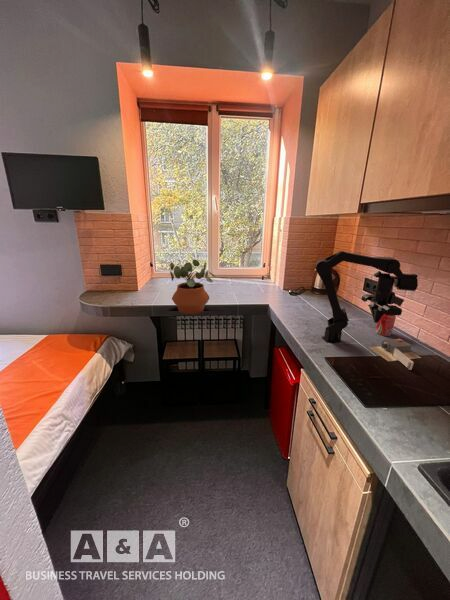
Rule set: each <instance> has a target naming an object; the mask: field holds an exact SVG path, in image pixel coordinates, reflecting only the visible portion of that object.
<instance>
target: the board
mask: <svg viewBox="0 0 450 600" xmlns="http://www.w3.org/2000/svg"><path fill="white" fill-rule="evenodd" d="M368 349H370V350H371V351H373V352H374V353H376V354H377V355H378V356H380V357H381V358H383V359H384V360H386V361H387V362H395V361H399V360H398V359H397V358H396V357H394V356H392V354H391V353H390V352H388V351H387V350H385V349H383V348H382V347H381V345H380V346H370V347H368ZM403 354H404V355H405V356H407V357H408V358H409V359H410V360H415V359H422V357H421V356H419V355H418V354H416V353H415V352H412V351H411V350H410V352H408V353H403Z"/></svg>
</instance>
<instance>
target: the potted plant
mask: <svg viewBox="0 0 450 600" xmlns="http://www.w3.org/2000/svg"><path fill="white" fill-rule="evenodd" d="M175 264H176V265H175ZM200 265H201V263H200V262H199V260H198V259H193V260H192V263H191V262H185V263H184V265H183V266H181V265H177V263H175V262H170V264H169V267H170V270H171V271H169V273H170V274H169V275H170V276H171V277H170V279H171V281H172V282H173V281H174V280H175V279H181V278H183V279H184V281H186V282H181V283H179V284H177V286H176V287H177V288H176V291H175V292H174V293H173V295H172V297H171V300H172V302H173V303H174V304H175V306H177V310H178V312H179V313H181V314H185V315H196V314H200V313H202V312H204V310H205V306H206V304H208V303H209V302H208V301H209V300H210V296H209V294H208V292H207V291H206V289H205V288H204V287H205V283H206V282H209V283H213V282H214V281H213V280H212V278H210V277H209V275H210V276H213V277H217V275H215V274H213V273H212V272H210V271H209V269H207V262H206V261H204V263H203V268H202V269H200V271H199V272H198V271H196V270H195V269H196V268H197V267H199V266H200ZM193 267H194V268H193ZM206 269H207V270H206ZM193 274H194V275H193ZM174 278H175V279H174ZM195 278H196V279H198V280H200V281H199V282H196V281H195ZM202 278H203V279H202ZM204 279H206V282H204V283H201V282H202V281H203V280H204Z"/></svg>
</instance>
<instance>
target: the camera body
mask: <svg viewBox="0 0 450 600" xmlns="http://www.w3.org/2000/svg"><path fill="white" fill-rule="evenodd" d="M380 346H381V347H382V348H383V349H385V350H387V351H388V352H390V353H391V354H393V350H394V348H397V349H398V350H399V351H400V352H402V353H408V352H410V351H411V350H412V346H413V345H412V344H411V343H409V342H406V341H405V340H403V339H401V338H396V339H395V338H393V339H392V338H391V339H383V340H382V342H381V345H380Z"/></svg>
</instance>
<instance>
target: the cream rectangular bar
mask: <svg viewBox="0 0 450 600" xmlns="http://www.w3.org/2000/svg"><path fill="white" fill-rule="evenodd" d="M392 356H394V357H396V358H397V359H398V360H397V361H398V362H400V363H401V364H403V365H404V366H405V367H406V369H408V370H410V371H411V370H412V369H413V367H414V364H415V362H414V361H413V360H412V359H409V358H408V357H407V356H405V355H404V354H403V353H402V352H400V351H399V350H398V349H397V348H394V350H393V354H392Z"/></svg>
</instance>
